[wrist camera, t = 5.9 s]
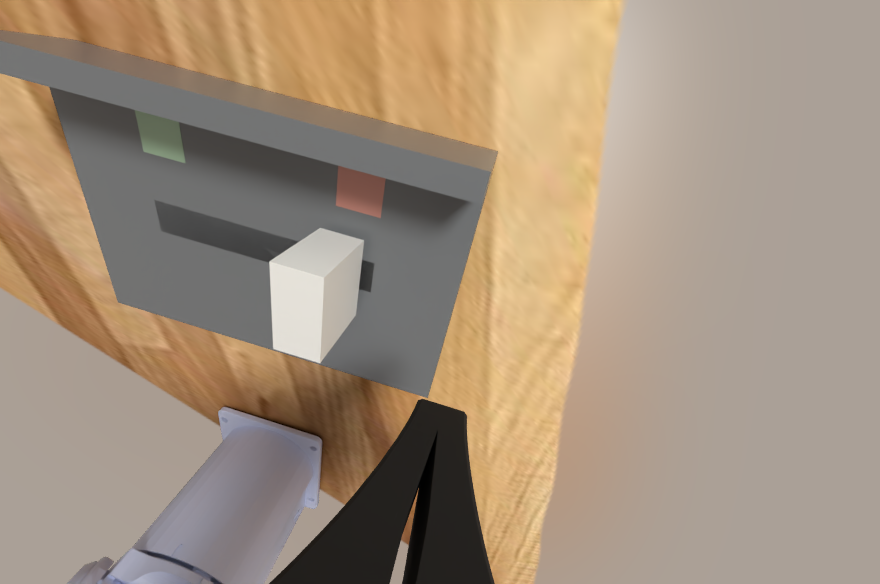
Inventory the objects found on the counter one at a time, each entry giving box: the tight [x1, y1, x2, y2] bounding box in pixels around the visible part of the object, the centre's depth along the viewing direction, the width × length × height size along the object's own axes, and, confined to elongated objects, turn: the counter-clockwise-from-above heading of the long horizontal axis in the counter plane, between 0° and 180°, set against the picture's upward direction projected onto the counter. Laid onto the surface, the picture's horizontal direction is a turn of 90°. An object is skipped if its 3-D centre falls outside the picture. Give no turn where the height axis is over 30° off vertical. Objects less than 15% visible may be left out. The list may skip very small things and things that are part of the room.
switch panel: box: [0, 30, 498, 398], centre depth 16 cm, size 13×19×4 cm
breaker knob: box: [269, 228, 364, 363], centre depth 14 cm, size 4×2×4 cm, turn 168°
